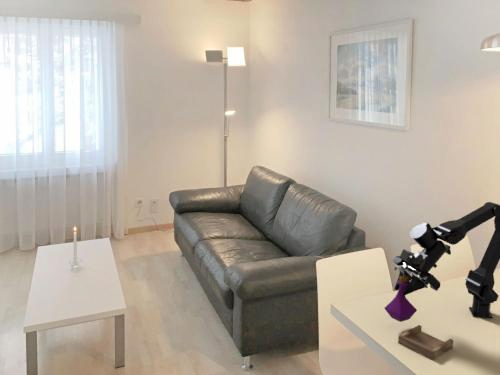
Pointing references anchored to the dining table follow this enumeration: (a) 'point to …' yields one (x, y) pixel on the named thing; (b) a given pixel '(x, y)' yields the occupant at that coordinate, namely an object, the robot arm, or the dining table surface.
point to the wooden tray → (424, 343)
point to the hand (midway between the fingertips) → (399, 292)
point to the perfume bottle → (401, 301)
